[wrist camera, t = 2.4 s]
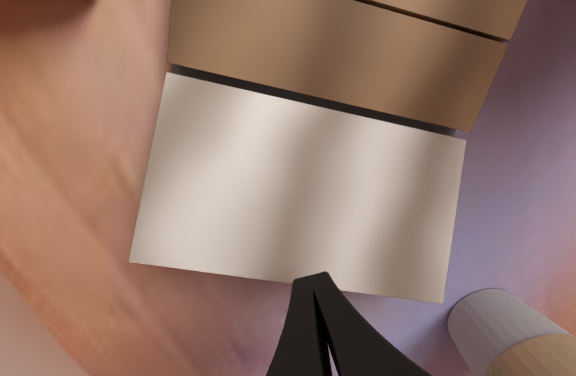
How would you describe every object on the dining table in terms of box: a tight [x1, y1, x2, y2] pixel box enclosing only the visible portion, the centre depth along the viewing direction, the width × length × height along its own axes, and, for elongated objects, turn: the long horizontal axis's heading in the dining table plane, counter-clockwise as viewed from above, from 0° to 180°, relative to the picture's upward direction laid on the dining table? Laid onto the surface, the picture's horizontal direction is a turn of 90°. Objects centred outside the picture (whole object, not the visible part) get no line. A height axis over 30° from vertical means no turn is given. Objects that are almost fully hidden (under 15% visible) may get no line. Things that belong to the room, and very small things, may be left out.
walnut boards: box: [167, 0, 527, 132], centre depth 13 cm, size 16×9×2 cm, turn 78°
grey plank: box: [129, 72, 466, 304], centre depth 15 cm, size 16×9×2 cm, turn 78°
